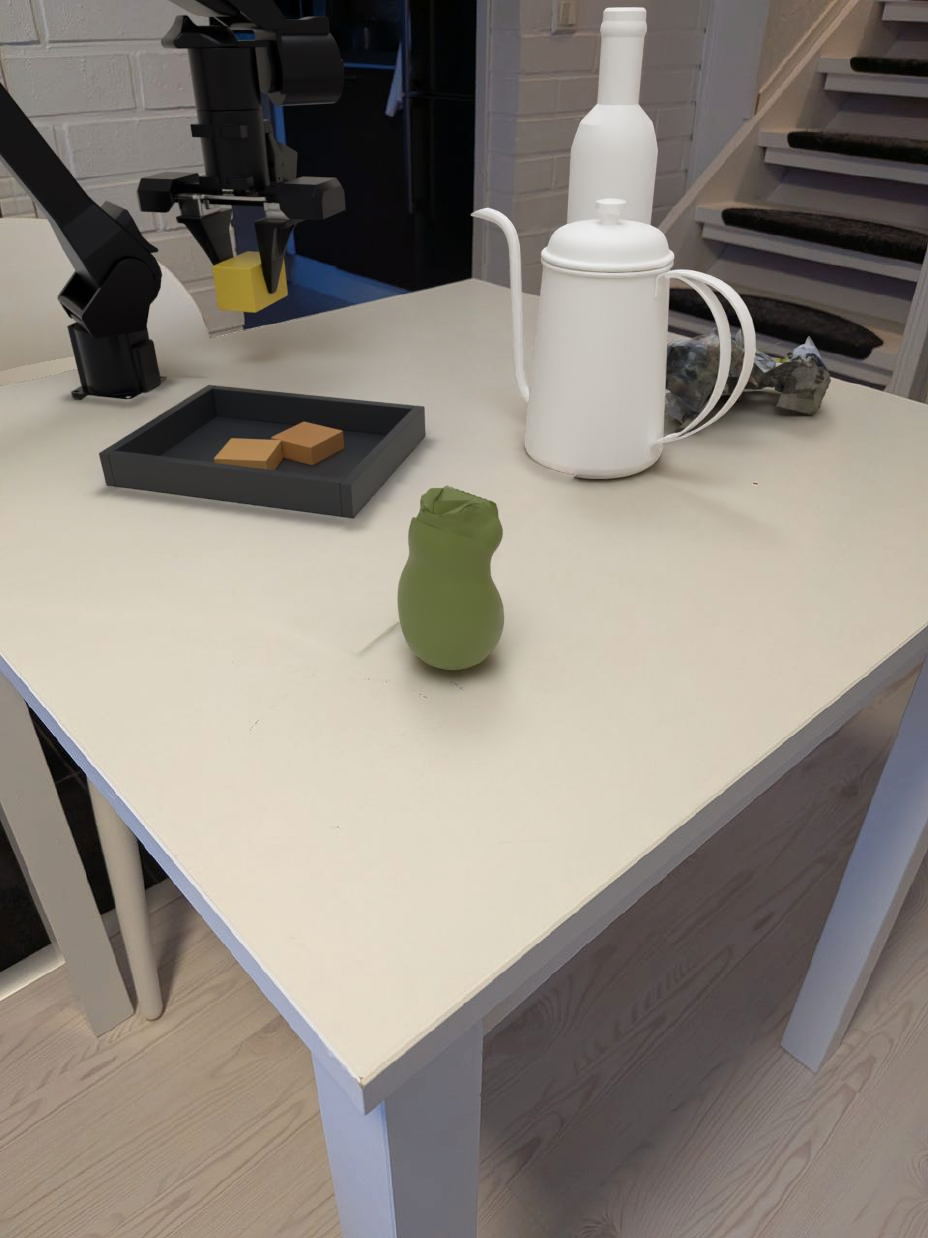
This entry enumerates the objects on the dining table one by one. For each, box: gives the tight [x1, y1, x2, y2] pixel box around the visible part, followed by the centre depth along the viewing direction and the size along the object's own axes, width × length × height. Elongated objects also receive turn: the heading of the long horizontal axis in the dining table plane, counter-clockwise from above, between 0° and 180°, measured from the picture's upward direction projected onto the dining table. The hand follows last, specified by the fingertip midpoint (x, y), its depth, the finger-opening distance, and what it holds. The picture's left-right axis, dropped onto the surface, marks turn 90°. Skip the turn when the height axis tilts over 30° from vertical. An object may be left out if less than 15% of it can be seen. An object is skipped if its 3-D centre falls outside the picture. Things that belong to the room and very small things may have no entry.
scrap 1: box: [214, 438, 283, 470], centre depth 69 cm, size 4×4×2 cm
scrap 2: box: [271, 422, 344, 465], centre depth 72 cm, size 4×4×2 cm
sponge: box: [211, 250, 289, 314], centre depth 89 cm, size 4×7×4 cm, turn 163°
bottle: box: [566, 6, 659, 226], centre depth 84 cm, size 8×8×30 cm
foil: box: [664, 325, 832, 433], centre depth 79 cm, size 12×11×15 cm
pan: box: [98, 384, 426, 519], centre depth 71 cm, size 20×16×3 cm
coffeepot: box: [470, 198, 757, 480], centre depth 68 cm, size 11×25×19 cm, turn 47°
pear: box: [396, 485, 505, 671], centre depth 47 cm, size 6×5×10 cm
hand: (252, 291), depth 89 cm, fingers closed on sponge, 4 cm apart
